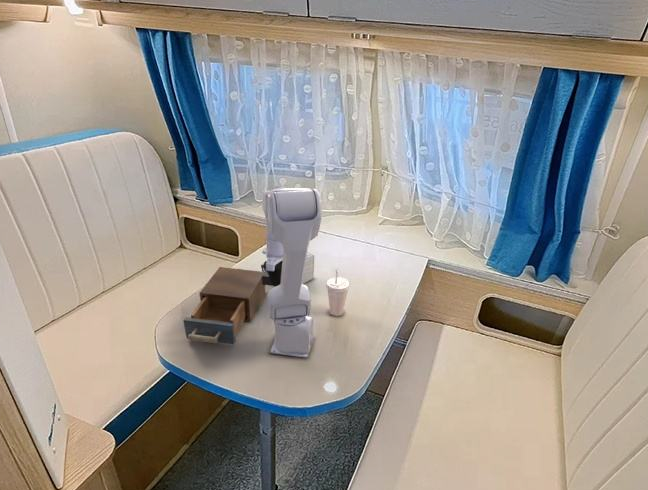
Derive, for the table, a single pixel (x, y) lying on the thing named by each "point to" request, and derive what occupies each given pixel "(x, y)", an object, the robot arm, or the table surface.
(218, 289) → the cabinet
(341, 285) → the smoothie
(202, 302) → the drawer
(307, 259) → the medicine box
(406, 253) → the table surface
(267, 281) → the remote
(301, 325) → the robot arm
